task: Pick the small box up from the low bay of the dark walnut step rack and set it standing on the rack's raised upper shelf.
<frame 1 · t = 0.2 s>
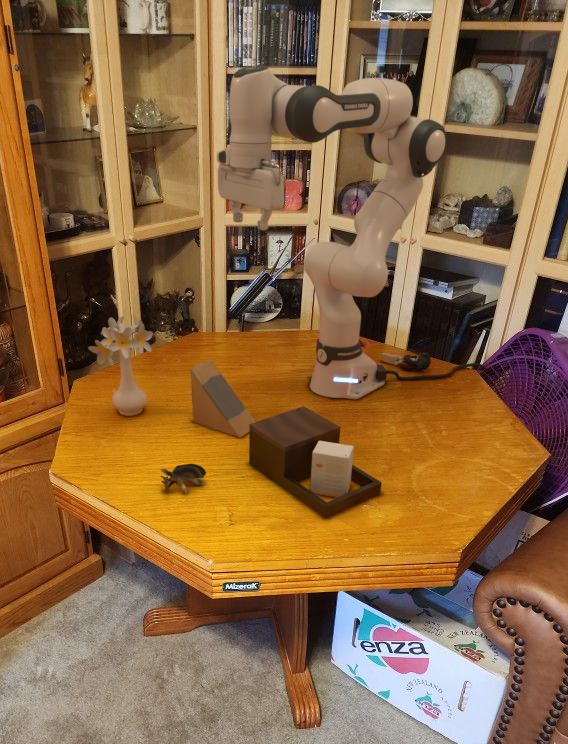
hand: (250, 225, 149), 48 cm above the table, tool pointing down, fingers open, 8 cm apart
sandwich container: (225, 424, 173), on the table
flower vase: (131, 412, 178), on the table
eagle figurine: (183, 488, 147), on the table
small box: (330, 490, 147), resting in rack
rack: (312, 478, 151), on the table
toy figure: (404, 367, 204), on the table
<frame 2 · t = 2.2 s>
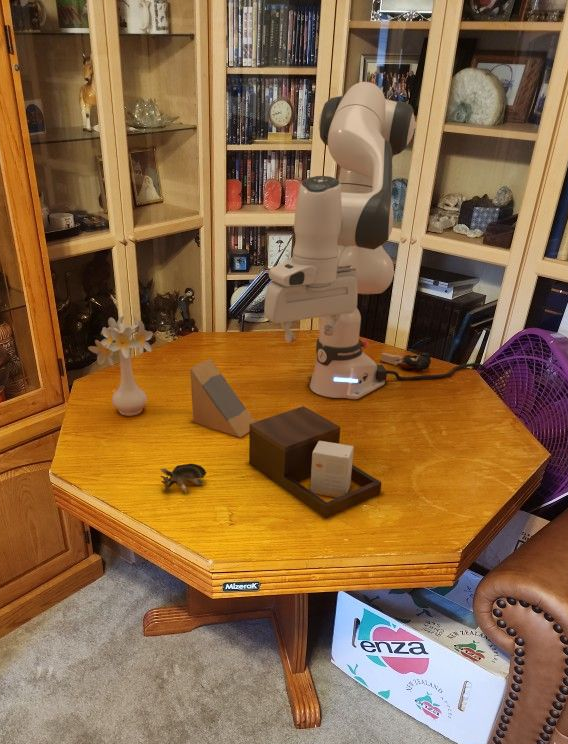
hand: (309, 338, 137), 31 cm above the table, tool pointing down, fingers open, 8 cm apart
nothing on the table moved.
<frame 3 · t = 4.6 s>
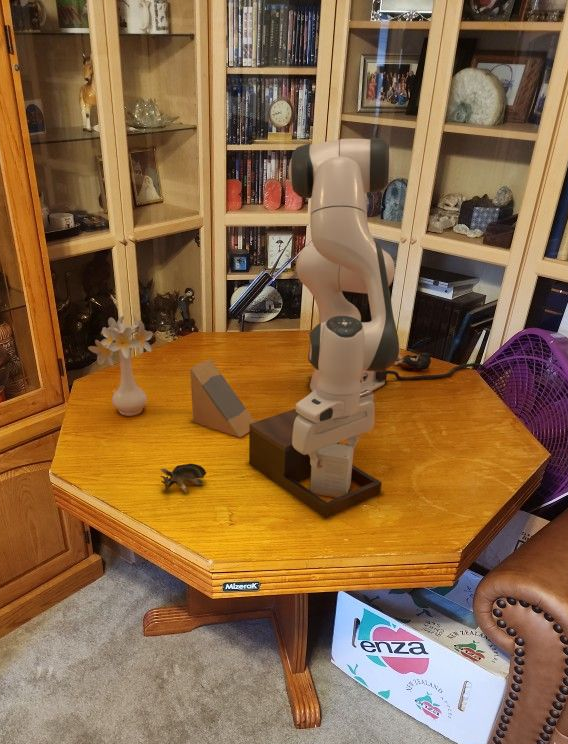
hand: (332, 459, 142), 8 cm above the table, tool pointing down, fingers open, 8 cm apart
nothing on the table moved.
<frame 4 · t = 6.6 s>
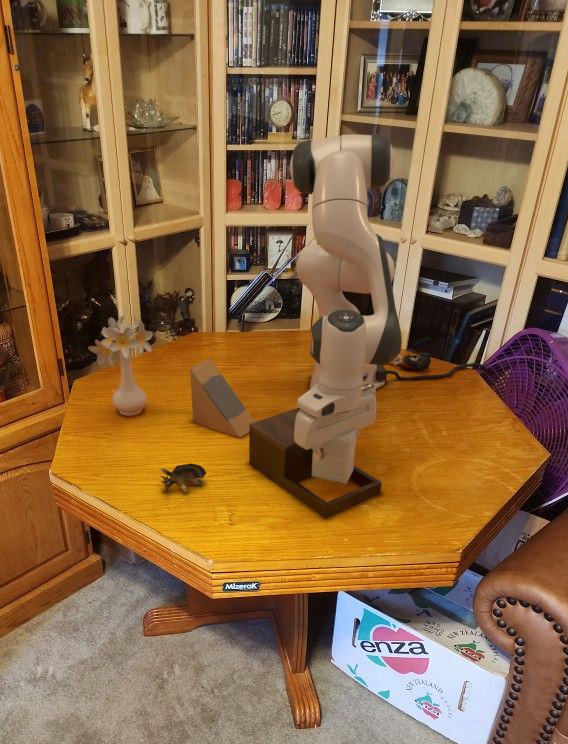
hand: (334, 453, 142), 9 cm above the table, tool pointing down, fingers closed on small box, 7 cm apart
small box: (332, 475, 145), point 4 cm above the table, touching gripper
everything else where it was.
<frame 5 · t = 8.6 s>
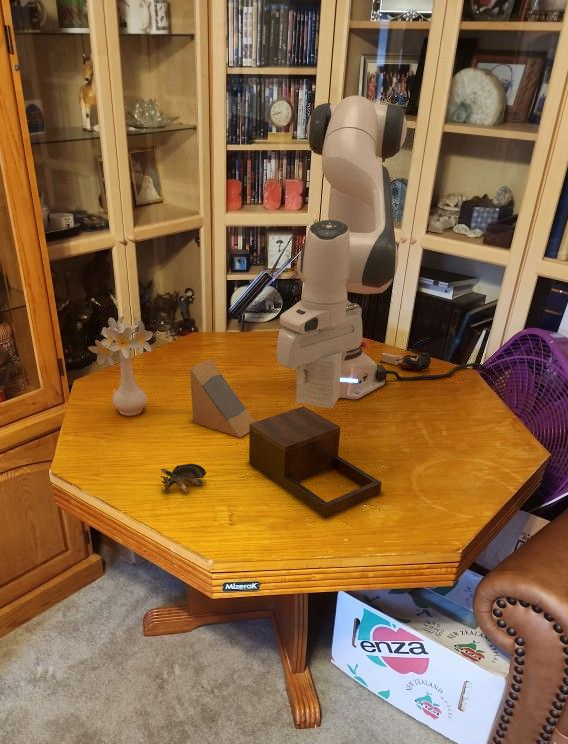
hand: (319, 377, 137), 24 cm above the table, tool pointing down, fingers closed on small box, 7 cm apart
small box: (317, 401, 141), point 19 cm above the table, touching gripper
everything else where it was.
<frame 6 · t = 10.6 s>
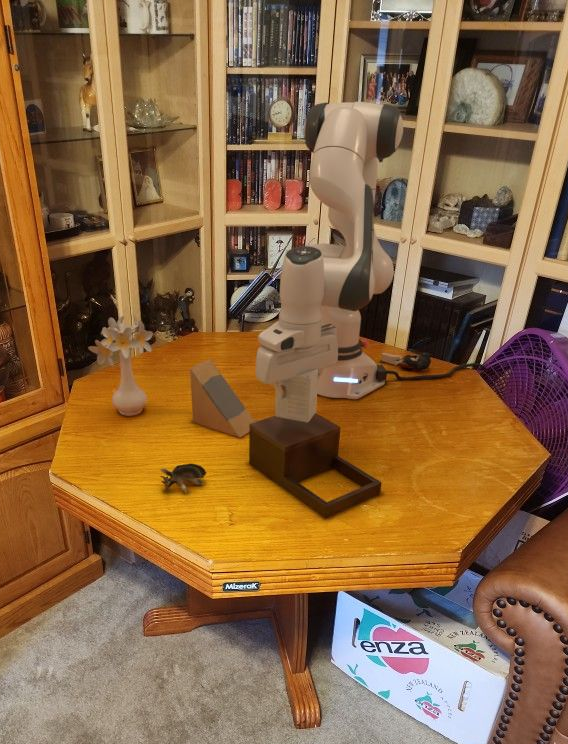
hand: (296, 392, 145), 19 cm above the table, tool pointing down, fingers closed on small box, 7 cm apart
small box: (295, 415, 148), point 13 cm above the table, touching gripper
everything else where it was.
when the fingers open (16 cm above the table, at t = 12.0 s): small box stays where it is, resting on rack.
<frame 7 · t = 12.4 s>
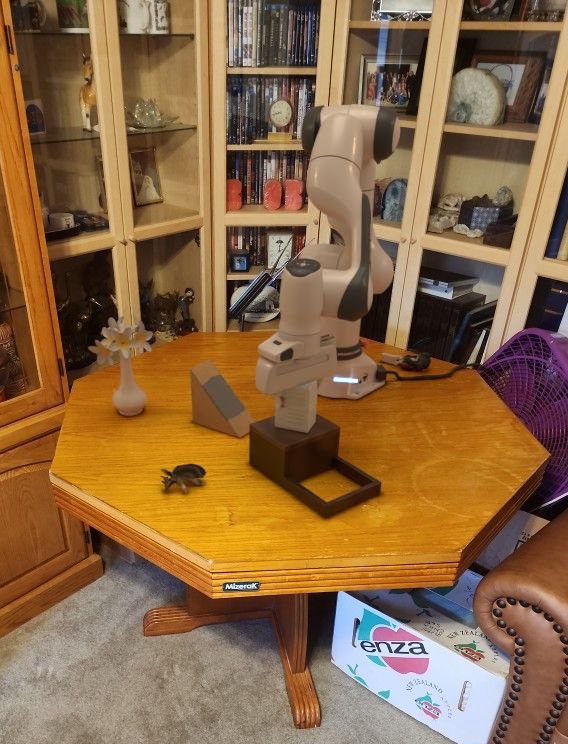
hand: (296, 402, 146), 16 cm above the table, tool pointing down, fingers open, 8 cm apart
small box: (294, 425, 150), point 10 cm above the table, touching rack
everything else where it was.
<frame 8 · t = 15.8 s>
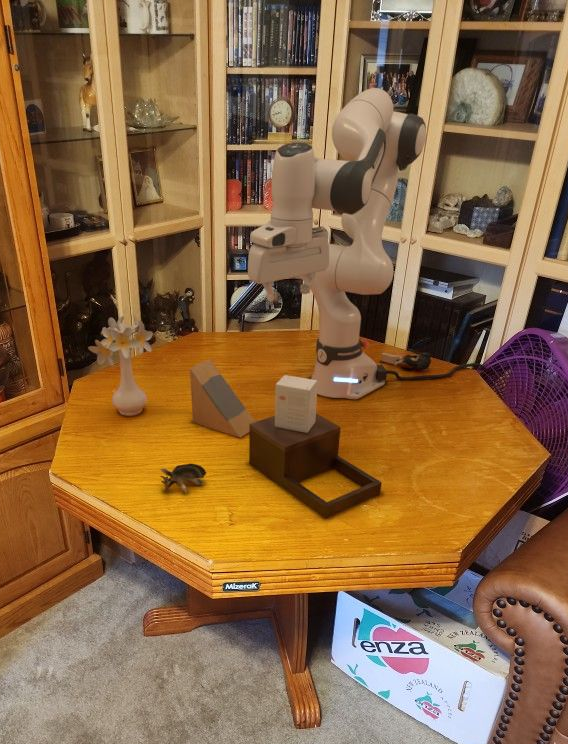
hand: (288, 296, 147), 35 cm above the table, tool pointing down, fingers open, 8 cm apart
nothing on the table moved.
at the end: small box inside the target area on the rack (0.1 cm from its centre), point 10.3 cm above the rack's base; small box tilted 0°; the gripper is holding nothing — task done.
